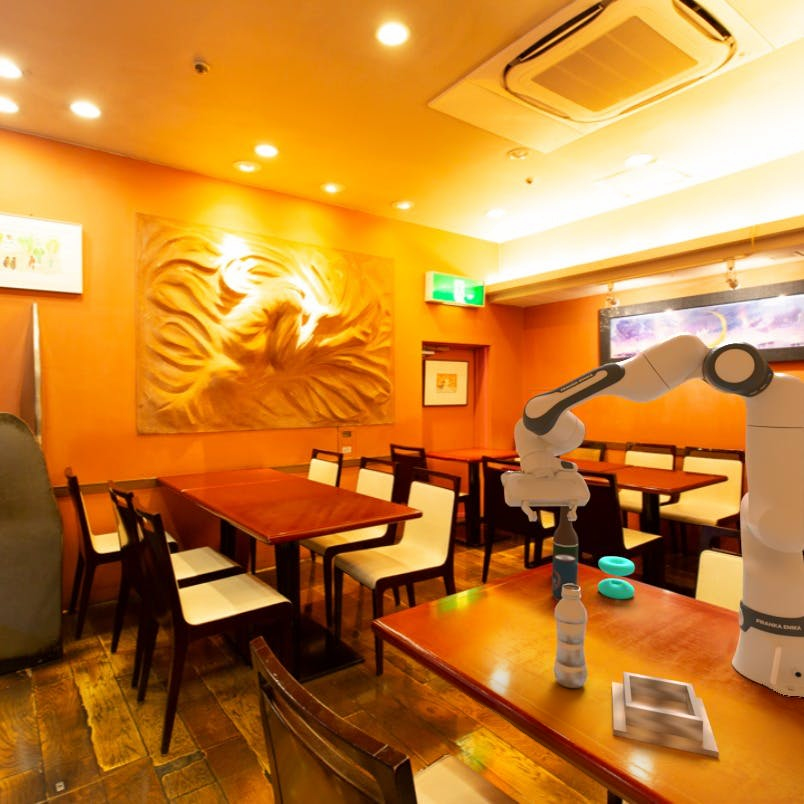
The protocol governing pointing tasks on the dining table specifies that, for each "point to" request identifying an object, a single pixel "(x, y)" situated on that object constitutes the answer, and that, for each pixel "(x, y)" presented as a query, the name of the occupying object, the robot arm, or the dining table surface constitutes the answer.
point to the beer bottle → (565, 536)
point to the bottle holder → (661, 714)
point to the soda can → (563, 573)
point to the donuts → (616, 586)
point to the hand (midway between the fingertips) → (553, 519)
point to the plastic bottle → (570, 638)
